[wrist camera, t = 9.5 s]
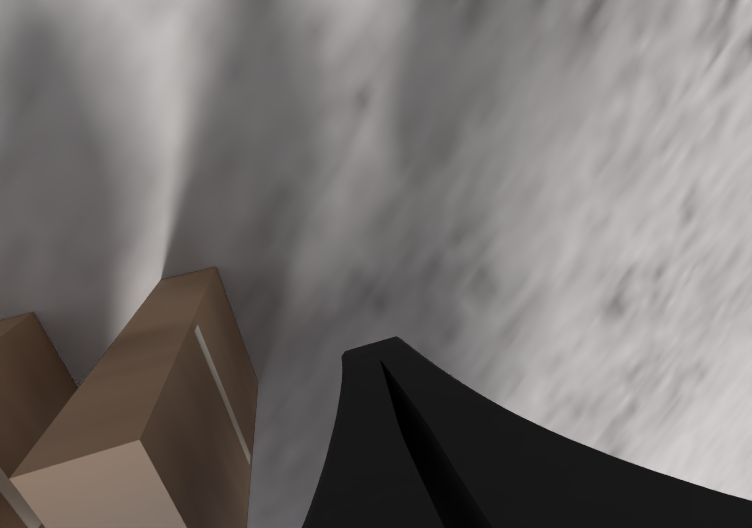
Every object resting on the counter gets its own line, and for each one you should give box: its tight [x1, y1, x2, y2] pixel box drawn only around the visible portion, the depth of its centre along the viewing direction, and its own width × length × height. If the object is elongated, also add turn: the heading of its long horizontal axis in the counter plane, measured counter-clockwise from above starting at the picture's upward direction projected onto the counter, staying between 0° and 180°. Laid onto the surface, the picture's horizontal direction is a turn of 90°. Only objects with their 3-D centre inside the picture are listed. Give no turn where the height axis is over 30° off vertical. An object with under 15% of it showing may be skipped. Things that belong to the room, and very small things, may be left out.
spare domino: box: [9, 267, 258, 528], centre depth 9 cm, size 4×2×7 cm, turn 10°
